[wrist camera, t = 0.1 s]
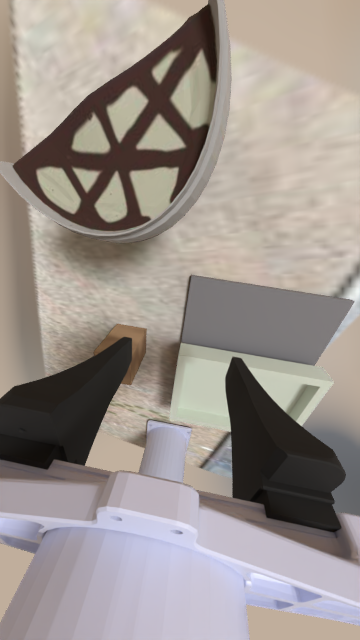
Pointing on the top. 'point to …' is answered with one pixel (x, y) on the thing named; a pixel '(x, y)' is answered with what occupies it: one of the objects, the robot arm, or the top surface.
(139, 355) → the walnut block
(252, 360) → the pale green tray
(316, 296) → the mat
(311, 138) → the top surface
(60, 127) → the food container
